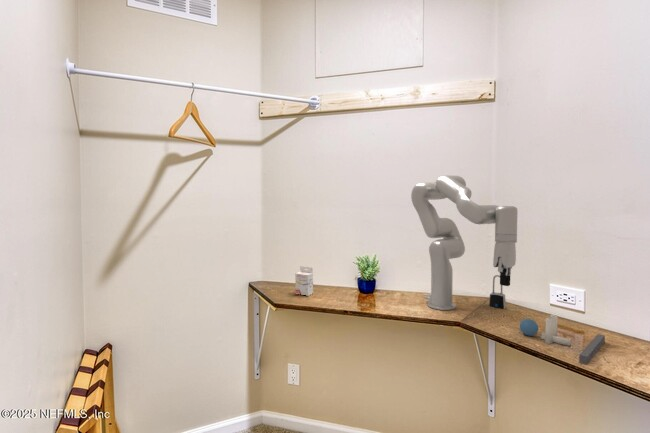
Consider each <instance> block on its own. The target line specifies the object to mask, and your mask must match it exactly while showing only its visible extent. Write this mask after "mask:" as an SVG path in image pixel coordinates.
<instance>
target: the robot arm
mask: <svg viewBox="0 0 650 433" xmlns="http://www.w3.org/2000/svg"><path fill="white" fill-rule="evenodd" d="M472 195H473V194H472V190H471V189H470V188H469V187H468V186H467V183H466V180H465V179H464V178H463V177H462V176H460V175H448V174H447V175H446V174H445V175H441V176H439V177H438V178H437V179H436V180H435V182H428V181H427V182H425V181H424V182H419V183H417V184H415V185H414V186H413V187H412V190H411V194H410V196H411V203H412V206H413V207H414V209H415V211H416V213H417V215H418V217H419V220H420V222H421V225H422V228H423V231H424V233H425V235H426V236H427V237H428V238H429V239H436V240H433V241H432V242H431V243H430V244H429V246H428V253H429V258H430V273H431V274H430V294H429V293H424V299H425V300H428V302H427V306H428V307H429V308H430V309H433V310H439V311H451V310H455V309H456V308H457V305H456V303H454V302H453V266H452V263H451V261H450V260H452V259H458V258H461V257H463V255H464V254H465V251H466V247H465V243H464V241H463V239H462V236H461V234H460V231H459V229H458V226H457V225H456V222H455V221H453V220H452V219H451V218H447V217H440V216H439V214H438V212H437V209H436V208H435V207H434V205H433V203H431V202H430V201H429V200H431V201H435V200H445V199H448V200H450V201H451V202H452V203H454V205H455V206H456V209H457V210H458V213H459V214H460V215H461V216H462V217H464V218H465V219H466V220H468V221H469V222H471V223H473V224H474V225H490V224H491V225H492V224H494V229H495V230H494V242H495V243H494V249H493V260H492V261H493V264H492V265H493V266H492V267H493V268H497V272H498V273H499V276H500V277H499V285H500V286H501V285H502V286H506V287H509V286H511V276H512V275H511V274H512V273H511V272H512V269H513V267H515V265H516V263H517V262H516V261H517V258H516V257H517V250H516V248H517V247H516V244H517V243H518V208H517V207H516V206H513V205H496V204H495V205H494V204H492V205H491V204H483V205H479V204H477V203H475V202H474V201H473V200H471V197H472Z"/></svg>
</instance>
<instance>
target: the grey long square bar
mask: <svg viewBox="0 0 650 433" xmlns="http://www.w3.org/2000/svg"><path fill="white" fill-rule="evenodd" d="M605 340H606V335H605V334H600V333H597V334H596V335H595V336H594V338H592V339H591V341H590V342H589V343H588V344H587V346H585V347H584V349H583V350H582V351H581V352H580V353H579V356H578V362H579V364H583V365H588V364H589V363H590V362H591V360H592V359H593V358H594V357H595V356H596V354H597V353H598V352H599V351H600V349H601V348H602V347H603V345H604V344H605V343H606V341H605Z"/></svg>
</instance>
